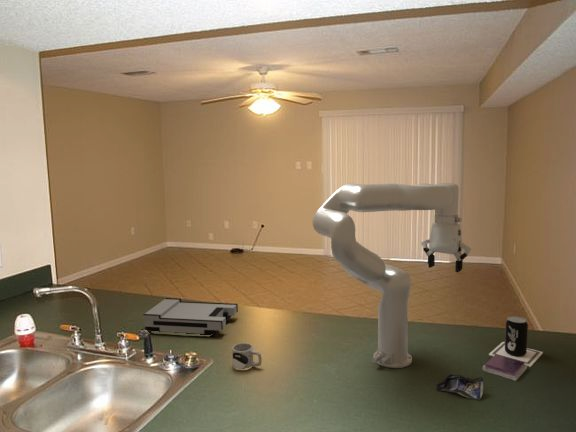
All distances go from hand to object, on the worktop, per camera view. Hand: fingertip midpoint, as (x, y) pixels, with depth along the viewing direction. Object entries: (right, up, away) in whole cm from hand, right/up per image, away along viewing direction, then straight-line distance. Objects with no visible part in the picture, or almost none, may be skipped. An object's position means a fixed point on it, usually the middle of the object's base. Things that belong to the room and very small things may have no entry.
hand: (444, 269), depth 159 cm
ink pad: (+14, -30, -13) cm, 36 cm away
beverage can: (+23, -28, -3) cm, 36 cm away
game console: (-92, -27, +29) cm, 101 cm away
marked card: (+23, -28, -3) cm, 37 cm away
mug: (-67, -32, -7) cm, 74 cm away
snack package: (-4, -33, -25) cm, 41 cm away
